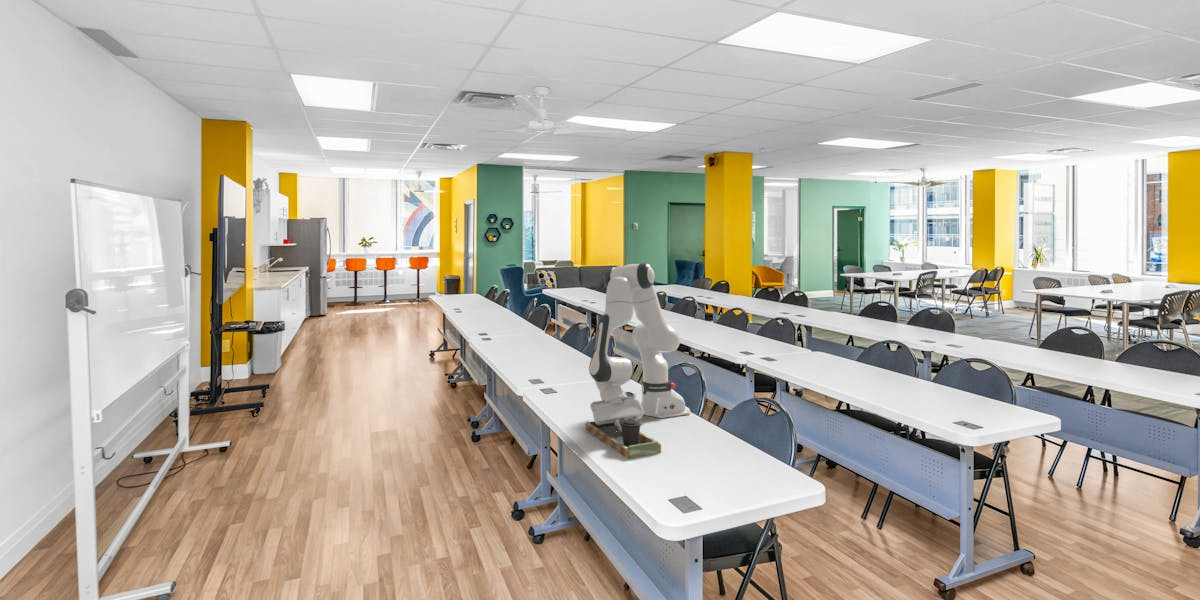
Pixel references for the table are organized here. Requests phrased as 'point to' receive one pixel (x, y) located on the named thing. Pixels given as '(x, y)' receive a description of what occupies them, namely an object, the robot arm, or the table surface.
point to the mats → (613, 430)
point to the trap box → (631, 451)
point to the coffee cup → (630, 432)
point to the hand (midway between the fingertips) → (624, 430)
